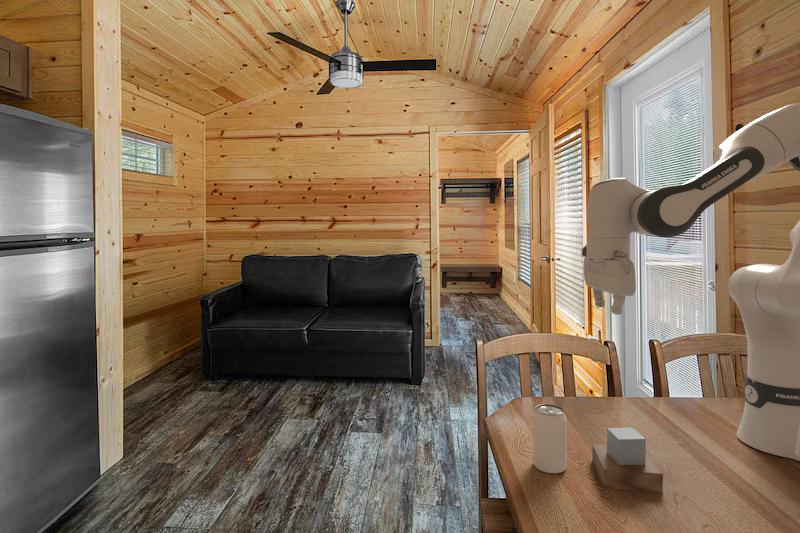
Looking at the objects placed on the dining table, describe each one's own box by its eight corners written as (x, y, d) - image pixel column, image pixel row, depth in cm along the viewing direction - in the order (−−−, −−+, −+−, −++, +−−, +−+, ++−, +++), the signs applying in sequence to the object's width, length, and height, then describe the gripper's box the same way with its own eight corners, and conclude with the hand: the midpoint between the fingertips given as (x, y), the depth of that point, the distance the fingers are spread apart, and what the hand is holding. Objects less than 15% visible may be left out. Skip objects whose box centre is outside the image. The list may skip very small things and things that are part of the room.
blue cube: (632, 451, 89) (632, 427, 89) (645, 464, 84) (645, 438, 84) (606, 452, 89) (606, 428, 89) (618, 465, 84) (618, 439, 84)
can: (556, 456, 95) (556, 401, 94) (573, 472, 89) (573, 413, 88) (527, 460, 94) (527, 404, 93) (542, 476, 88) (542, 417, 87)
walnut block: (644, 466, 91) (645, 447, 91) (662, 494, 81) (662, 473, 81) (592, 462, 93) (592, 444, 93) (603, 489, 84) (603, 469, 83)
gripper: (644, 252, 92) (643, 318, 93) (604, 248, 112) (604, 303, 114) (613, 252, 92) (612, 319, 93) (578, 249, 113) (578, 303, 114)
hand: (607, 310), depth 104 cm, fingers open, 8 cm apart
